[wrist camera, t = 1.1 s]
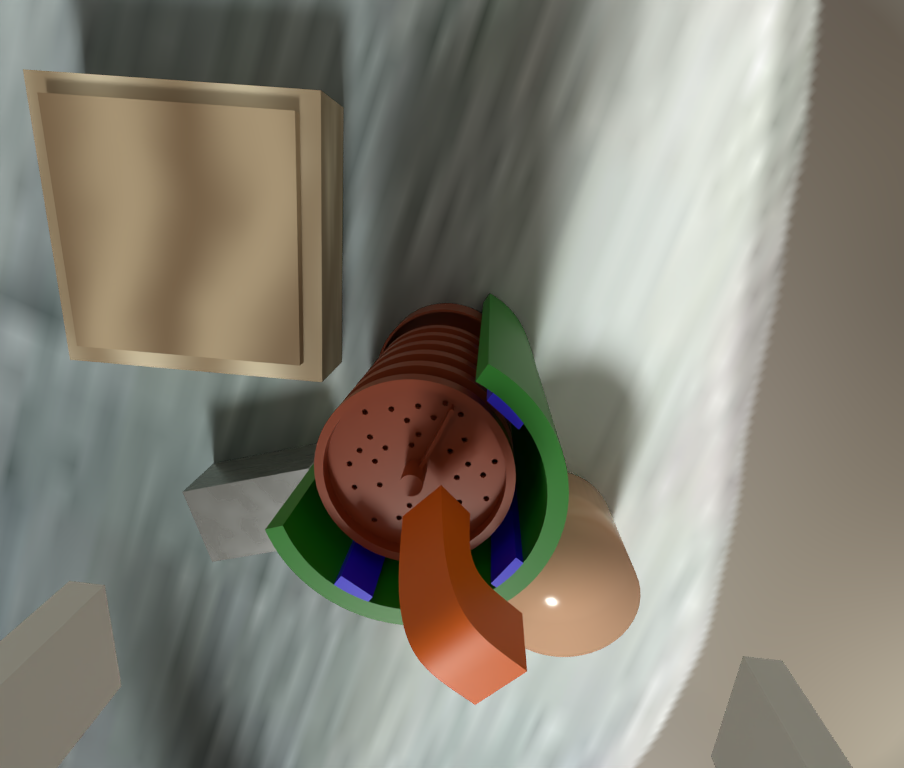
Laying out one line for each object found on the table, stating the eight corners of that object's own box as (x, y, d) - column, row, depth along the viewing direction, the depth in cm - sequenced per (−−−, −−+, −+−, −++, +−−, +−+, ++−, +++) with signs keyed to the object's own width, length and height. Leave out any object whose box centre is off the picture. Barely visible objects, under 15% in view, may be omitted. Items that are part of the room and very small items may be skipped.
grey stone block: (240, 525, 36) (212, 561, 32) (215, 461, 35) (182, 491, 31) (349, 506, 35) (333, 541, 31) (328, 439, 34) (308, 468, 30)
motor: (446, 258, 30) (377, 335, 10) (566, 351, 31) (700, 570, 12) (349, 391, 32) (157, 641, 13) (463, 471, 34) (436, 804, 15)
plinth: (119, 342, 32) (61, 362, 28) (85, 89, 28) (11, 65, 23) (341, 362, 32) (318, 385, 27) (343, 107, 27) (316, 87, 23)
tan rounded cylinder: (483, 568, 36) (482, 648, 29) (494, 464, 33) (497, 526, 27) (599, 580, 36) (625, 663, 29) (619, 476, 33) (653, 541, 26)
